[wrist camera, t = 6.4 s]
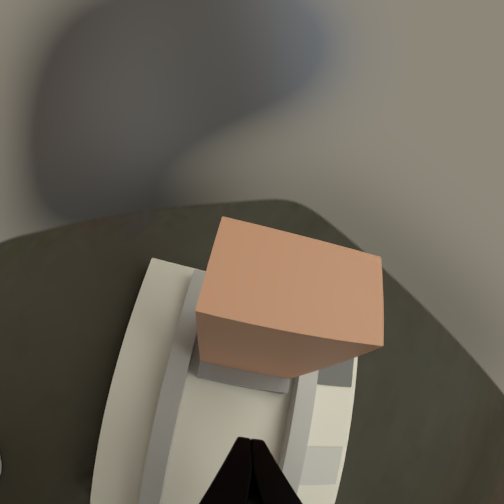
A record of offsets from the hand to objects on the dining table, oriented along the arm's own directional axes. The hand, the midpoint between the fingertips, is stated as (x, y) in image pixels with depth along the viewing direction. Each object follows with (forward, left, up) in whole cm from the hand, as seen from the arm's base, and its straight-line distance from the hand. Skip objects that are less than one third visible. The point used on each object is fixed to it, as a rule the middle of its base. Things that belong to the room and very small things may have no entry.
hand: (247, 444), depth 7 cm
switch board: (0, 0, -7) cm, 7 cm away
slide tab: (+4, +2, -5) cm, 7 cm away
